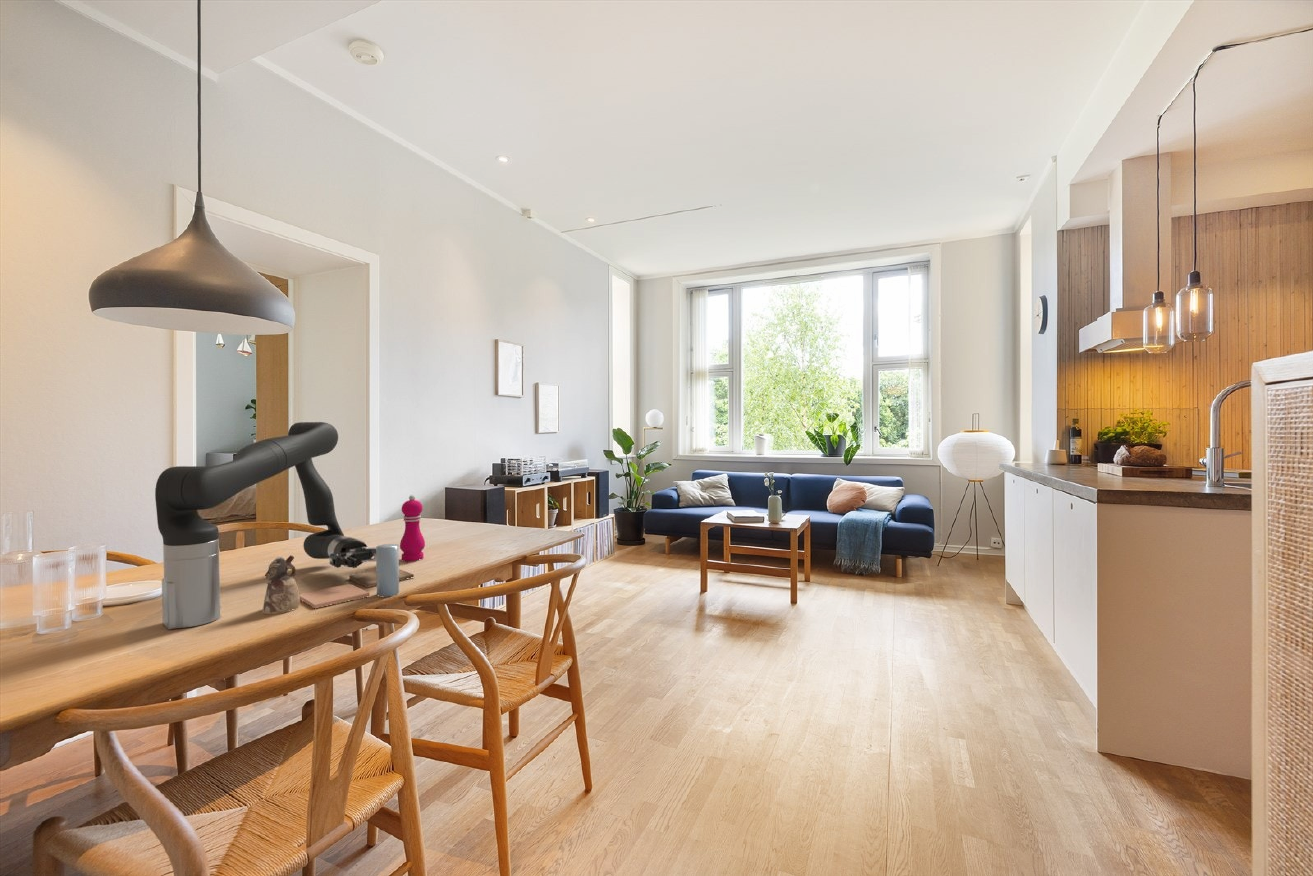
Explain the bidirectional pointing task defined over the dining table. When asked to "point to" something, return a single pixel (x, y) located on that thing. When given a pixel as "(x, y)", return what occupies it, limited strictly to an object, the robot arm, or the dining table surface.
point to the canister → (387, 569)
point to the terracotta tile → (333, 595)
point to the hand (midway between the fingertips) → (373, 560)
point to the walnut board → (375, 577)
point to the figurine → (281, 587)
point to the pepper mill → (412, 531)
